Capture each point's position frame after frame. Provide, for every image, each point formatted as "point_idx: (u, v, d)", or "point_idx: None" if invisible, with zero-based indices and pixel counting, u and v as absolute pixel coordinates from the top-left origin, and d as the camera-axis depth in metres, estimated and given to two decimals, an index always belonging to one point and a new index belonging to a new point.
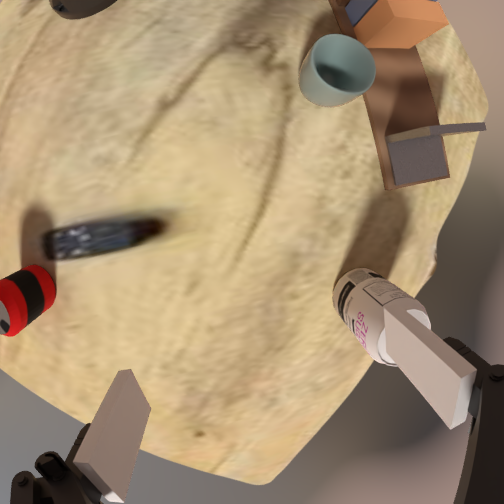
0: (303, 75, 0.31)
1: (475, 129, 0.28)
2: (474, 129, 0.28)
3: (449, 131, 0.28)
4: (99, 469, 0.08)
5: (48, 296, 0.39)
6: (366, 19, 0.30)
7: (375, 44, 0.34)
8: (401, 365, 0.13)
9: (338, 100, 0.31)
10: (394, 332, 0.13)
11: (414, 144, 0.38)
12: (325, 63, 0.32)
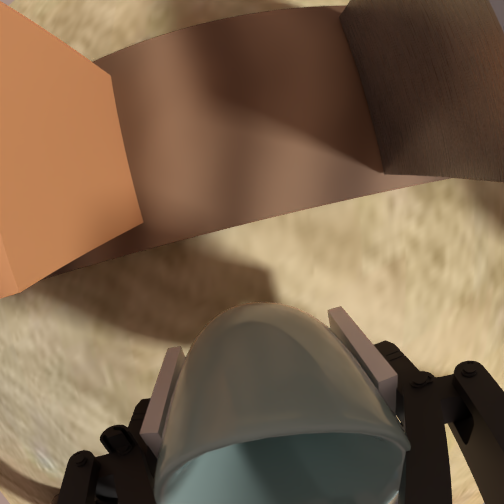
0: None
1: None
2: None
3: None
4: None
5: None
6: None
7: (126, 192, 0.15)
8: None
9: None
10: (336, 334, 0.15)
11: None
12: None
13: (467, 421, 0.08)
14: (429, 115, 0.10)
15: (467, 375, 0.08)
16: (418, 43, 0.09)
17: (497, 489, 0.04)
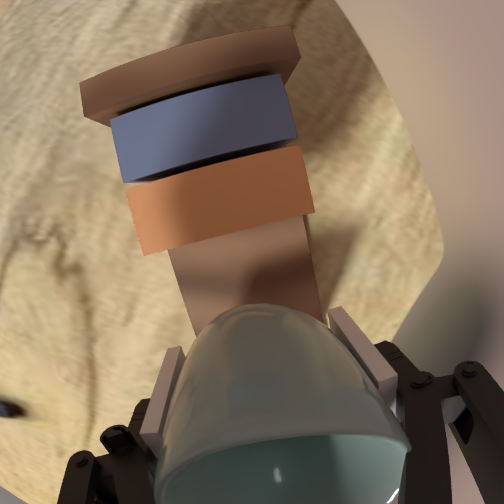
0: None
1: None
2: None
3: None
4: None
5: None
6: None
7: None
8: None
9: None
10: (336, 334, 0.15)
11: None
12: None
13: (467, 421, 0.08)
14: None
15: (467, 374, 0.08)
16: None
17: (497, 489, 0.04)
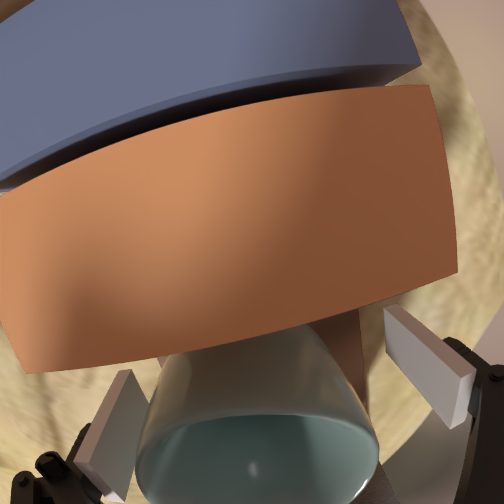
0: None
1: None
2: None
3: None
4: (99, 469, 0.08)
5: None
6: None
7: None
8: (401, 365, 0.13)
9: None
10: (394, 332, 0.13)
11: None
12: None
13: None
14: None
15: None
16: None
17: None
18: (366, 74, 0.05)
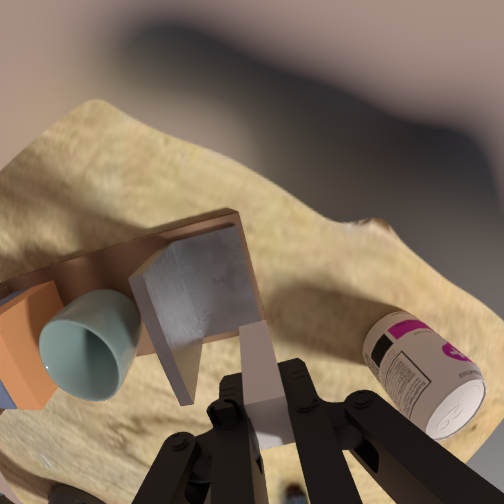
0: (131, 336, 0.24)
1: (151, 308, 0.18)
2: (152, 311, 0.18)
3: (176, 371, 0.19)
4: None
5: None
6: None
7: None
8: None
9: (81, 304, 0.22)
10: None
11: (196, 295, 0.29)
12: (108, 352, 0.25)
13: (372, 448, 0.09)
14: None
15: (359, 406, 0.09)
16: None
17: None
18: None
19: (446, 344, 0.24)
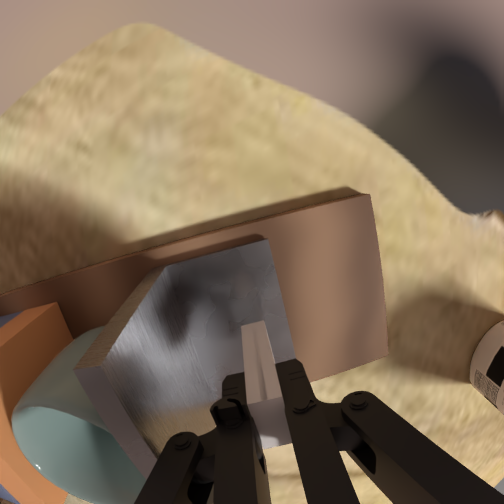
0: None
1: (129, 425, 0.08)
2: (131, 429, 0.08)
3: None
4: None
5: None
6: None
7: None
8: None
9: None
10: None
11: (205, 345, 0.19)
12: None
13: (369, 449, 0.09)
14: None
15: (356, 407, 0.09)
16: None
17: None
18: None
19: None
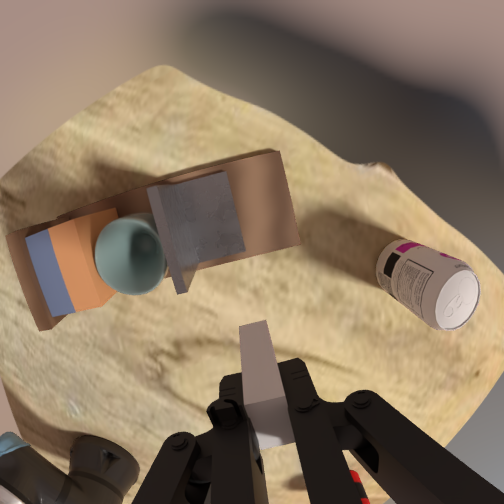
0: None
1: (161, 210, 0.26)
2: (161, 212, 0.26)
3: (175, 261, 0.27)
4: None
5: None
6: None
7: None
8: None
9: (135, 214, 0.30)
10: None
11: (194, 226, 0.37)
12: (149, 261, 0.33)
13: (372, 448, 0.09)
14: None
15: (359, 406, 0.09)
16: None
17: None
18: None
19: (443, 253, 0.32)
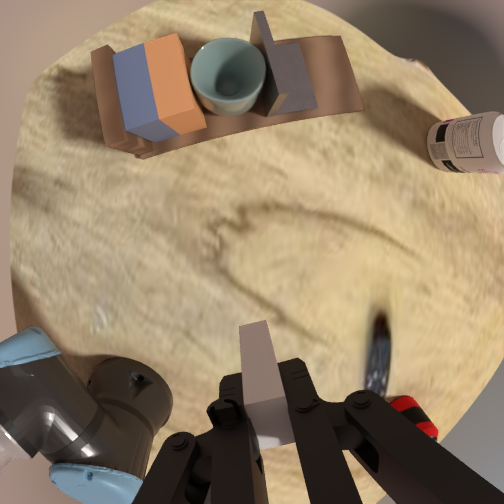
0: None
1: (267, 27, 0.25)
2: (267, 28, 0.25)
3: (279, 65, 0.26)
4: None
5: (411, 402, 0.48)
6: (179, 127, 0.33)
7: (202, 112, 0.36)
8: None
9: None
10: None
11: None
12: (235, 94, 0.32)
13: (372, 448, 0.09)
14: (266, 86, 0.31)
15: (359, 406, 0.09)
16: None
17: None
18: None
19: None
